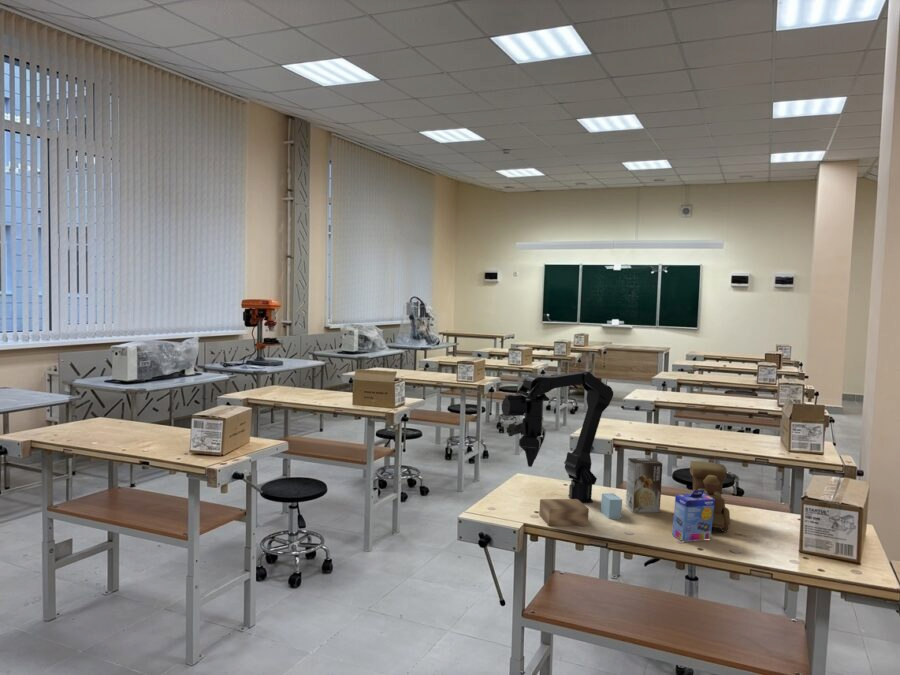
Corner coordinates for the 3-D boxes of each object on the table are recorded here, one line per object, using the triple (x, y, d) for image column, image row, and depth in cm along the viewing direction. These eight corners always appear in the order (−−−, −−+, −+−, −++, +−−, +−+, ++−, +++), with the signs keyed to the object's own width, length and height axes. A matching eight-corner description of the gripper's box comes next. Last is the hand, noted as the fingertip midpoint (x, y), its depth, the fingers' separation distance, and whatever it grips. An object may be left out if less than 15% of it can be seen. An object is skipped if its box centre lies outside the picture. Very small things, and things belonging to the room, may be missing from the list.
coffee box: (651, 506, 204) (655, 458, 203) (660, 513, 197) (663, 463, 196) (624, 505, 203) (628, 457, 202) (632, 512, 196) (635, 462, 196)
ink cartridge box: (683, 543, 173) (687, 492, 172) (670, 535, 178) (674, 486, 177) (712, 540, 176) (716, 490, 175) (699, 533, 181) (703, 484, 180)
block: (612, 512, 196) (613, 493, 196) (621, 518, 190) (622, 499, 190) (600, 512, 196) (602, 493, 195) (608, 518, 190) (610, 499, 189)
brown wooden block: (576, 514, 192) (577, 498, 191) (587, 525, 183) (588, 508, 183) (539, 515, 190) (540, 499, 189) (548, 526, 181) (549, 509, 181)
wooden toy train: (684, 509, 202) (687, 459, 201) (721, 515, 199) (726, 463, 198) (688, 530, 183) (692, 475, 182) (730, 536, 180) (735, 480, 179)
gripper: (513, 407, 209) (511, 453, 210) (503, 418, 191) (501, 468, 192) (546, 410, 206) (544, 456, 207) (539, 421, 188) (537, 471, 189)
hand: (531, 462), depth 199 cm, fingers open, 9 cm apart
